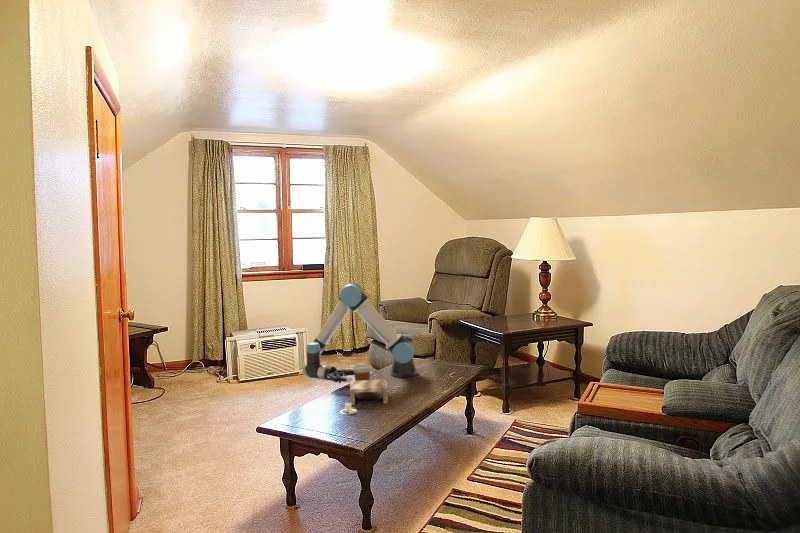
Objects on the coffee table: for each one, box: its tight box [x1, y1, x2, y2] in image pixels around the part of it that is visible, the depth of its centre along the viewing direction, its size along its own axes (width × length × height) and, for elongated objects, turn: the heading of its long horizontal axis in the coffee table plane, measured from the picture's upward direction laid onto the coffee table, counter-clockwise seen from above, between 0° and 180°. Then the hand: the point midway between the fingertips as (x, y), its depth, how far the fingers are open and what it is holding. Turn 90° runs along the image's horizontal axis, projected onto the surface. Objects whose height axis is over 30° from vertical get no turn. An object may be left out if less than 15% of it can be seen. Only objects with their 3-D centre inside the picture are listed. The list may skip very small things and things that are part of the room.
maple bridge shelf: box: [349, 378, 389, 406], centre depth 280 cm, size 18×16×8 cm
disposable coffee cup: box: [352, 364, 372, 381], centre depth 297 cm, size 10×10×12 cm
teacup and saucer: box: [339, 402, 358, 415], centre depth 261 cm, size 9×8×4 cm
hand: (359, 377), depth 297 cm, fingers open, 13 cm apart
